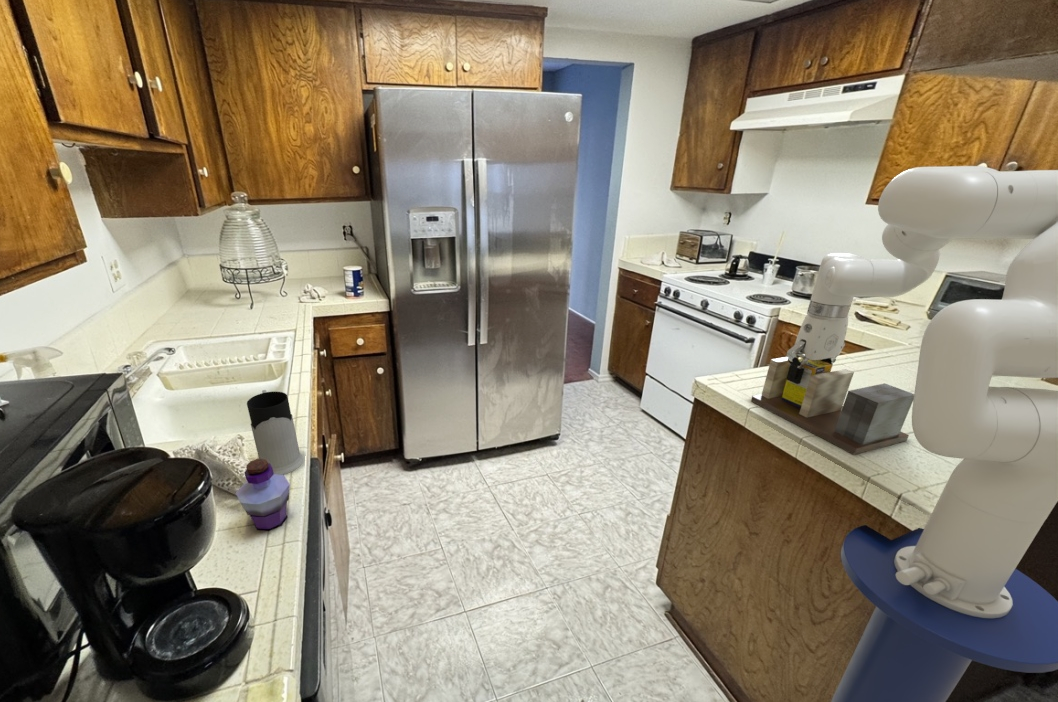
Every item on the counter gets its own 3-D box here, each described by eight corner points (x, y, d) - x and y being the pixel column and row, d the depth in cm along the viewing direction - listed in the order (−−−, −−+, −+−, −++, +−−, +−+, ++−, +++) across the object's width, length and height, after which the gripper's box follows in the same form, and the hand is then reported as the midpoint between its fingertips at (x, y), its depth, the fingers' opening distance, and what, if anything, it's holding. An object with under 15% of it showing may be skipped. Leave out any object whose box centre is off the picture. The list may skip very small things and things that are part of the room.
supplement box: (820, 405, 114) (833, 364, 110) (803, 410, 112) (816, 368, 108) (796, 395, 119) (808, 355, 115) (780, 399, 117) (791, 359, 113)
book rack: (853, 454, 97) (872, 406, 93) (750, 401, 120) (761, 359, 115) (906, 440, 102) (926, 393, 97) (797, 391, 125) (809, 351, 120)
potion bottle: (298, 500, 87) (286, 445, 82) (294, 532, 79) (281, 473, 74) (248, 508, 85) (233, 453, 80) (239, 542, 77) (222, 483, 72)
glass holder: (261, 480, 93) (245, 414, 86) (254, 446, 104) (239, 386, 98) (306, 467, 96) (294, 403, 90) (295, 436, 108) (283, 377, 102)
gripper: (815, 318, 100) (794, 390, 107) (872, 310, 105) (848, 380, 112) (784, 309, 107) (766, 378, 114) (839, 301, 112) (818, 368, 119)
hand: (807, 378), depth 113 cm, fingers open, 8 cm apart
